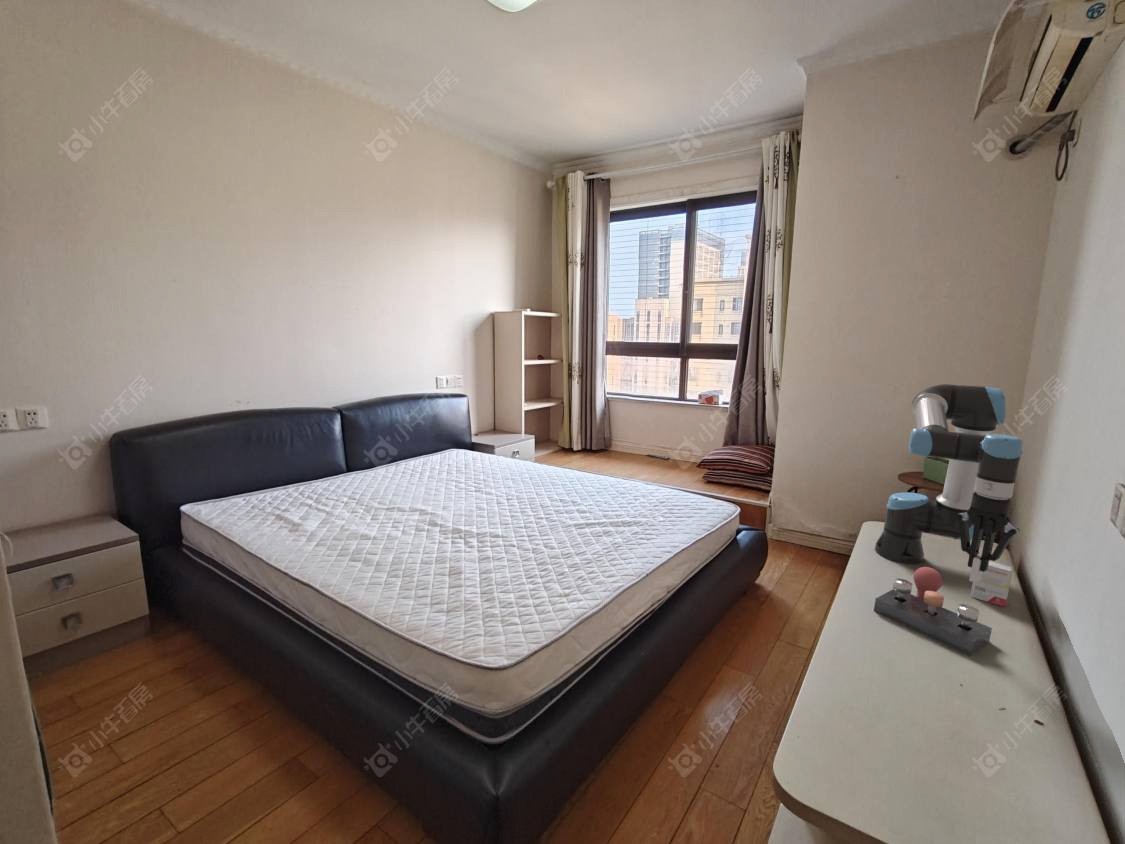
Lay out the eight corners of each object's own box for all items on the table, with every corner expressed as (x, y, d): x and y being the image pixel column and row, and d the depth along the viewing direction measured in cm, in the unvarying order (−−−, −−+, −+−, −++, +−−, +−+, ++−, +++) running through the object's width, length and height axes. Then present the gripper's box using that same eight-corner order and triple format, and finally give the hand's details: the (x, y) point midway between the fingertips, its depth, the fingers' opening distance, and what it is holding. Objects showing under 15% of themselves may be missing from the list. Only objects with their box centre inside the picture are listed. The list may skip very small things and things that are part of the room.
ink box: (1006, 601, 157) (1014, 566, 155) (1005, 607, 154) (1013, 571, 152) (971, 591, 163) (978, 557, 161) (969, 596, 160) (976, 562, 157)
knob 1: (895, 595, 152) (898, 577, 151) (911, 602, 149) (915, 583, 148) (888, 599, 150) (891, 580, 149) (904, 606, 147) (907, 587, 145)
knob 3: (958, 622, 139) (962, 602, 138) (977, 630, 136) (982, 610, 134) (951, 627, 137) (955, 607, 136) (970, 635, 133) (975, 615, 132)
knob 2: (925, 608, 146) (929, 589, 145) (943, 615, 142) (947, 596, 141) (918, 612, 144) (921, 593, 142) (936, 620, 140) (939, 600, 139)
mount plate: (893, 599, 157) (895, 587, 156) (989, 641, 137) (992, 628, 136) (873, 610, 150) (875, 598, 150) (970, 656, 131) (973, 642, 130)
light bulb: (942, 612, 150) (949, 575, 148) (915, 609, 152) (922, 572, 149) (930, 600, 157) (937, 564, 155) (904, 596, 158) (911, 561, 156)
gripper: (955, 489, 132) (939, 573, 137) (1019, 505, 121) (1000, 595, 126) (967, 485, 136) (951, 566, 141) (1030, 500, 125) (1011, 588, 130)
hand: (974, 580), depth 133 cm, fingers closed
